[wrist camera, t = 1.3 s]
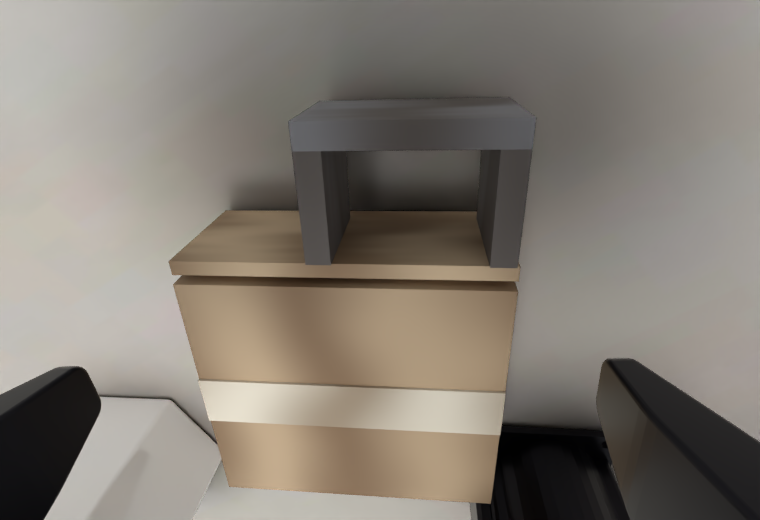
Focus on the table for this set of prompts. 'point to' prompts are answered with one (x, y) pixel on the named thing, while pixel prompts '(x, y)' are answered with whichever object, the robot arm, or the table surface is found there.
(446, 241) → the flap
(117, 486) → the jar
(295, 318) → the carton
